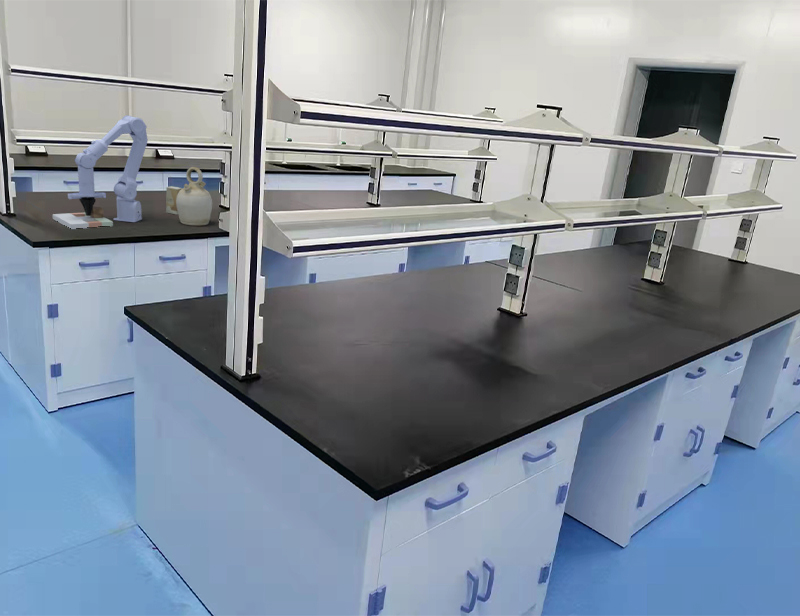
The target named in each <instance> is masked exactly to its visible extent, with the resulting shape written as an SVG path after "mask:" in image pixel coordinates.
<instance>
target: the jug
mask: <svg viewBox="0 0 800 616" xmlns="http://www.w3.org/2000/svg"><path fill="white" fill-rule="evenodd" d="M193 171H195V172H196V173H197V176H198V178H197V180H196V181H195V180H193V179H192V176H191V175H192V172H193ZM185 174H186V180H187V182H188V183H185V184H184V186H183V189H181V190H180V191H179V193H178V195H177V198H176V205H177V210H178V214H177V215H178V218H179V222H180V223H181V224H182V225H186V226H206V225H209V222H210V220H211V214H212V210H213V209H212V208H213V200H212V196H211V194H210V192H209V191H208V190H207V189H205V186H206V184H207V183H206V182H204V181H203V177H204V176H203V173H202V170H200V168H199V167H197V166H191V167H189V168H188V169H187V170H186V173H185Z"/></svg>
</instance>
